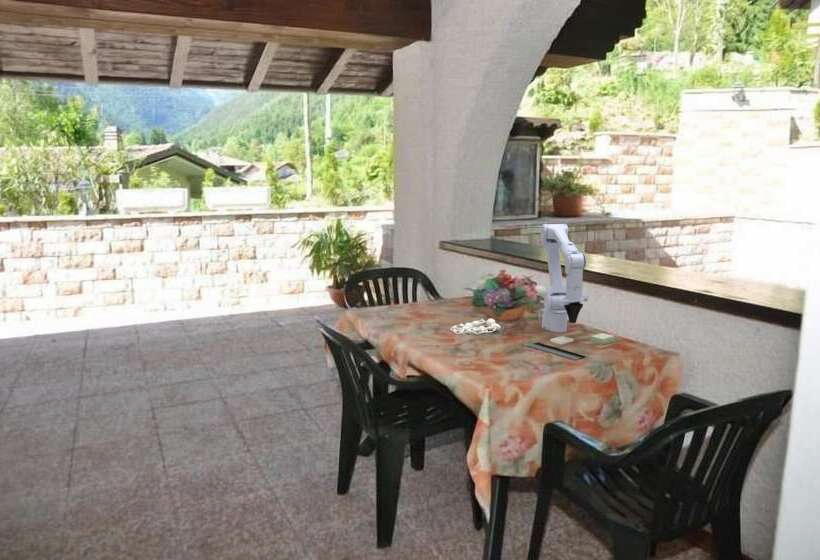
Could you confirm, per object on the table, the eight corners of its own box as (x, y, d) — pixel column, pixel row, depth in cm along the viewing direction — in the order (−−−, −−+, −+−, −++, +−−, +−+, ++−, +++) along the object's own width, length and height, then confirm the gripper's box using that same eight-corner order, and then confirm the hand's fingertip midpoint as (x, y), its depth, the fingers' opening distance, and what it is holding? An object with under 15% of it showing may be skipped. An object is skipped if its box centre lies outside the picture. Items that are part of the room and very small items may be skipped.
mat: (526, 346, 218) (526, 345, 218) (552, 339, 226) (552, 338, 226) (575, 360, 201) (575, 359, 200) (600, 353, 209) (600, 352, 209)
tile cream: (550, 344, 219) (550, 339, 218) (562, 341, 223) (562, 336, 222) (560, 347, 215) (561, 342, 214) (573, 344, 219) (573, 338, 218)
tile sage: (590, 341, 218) (591, 336, 218) (602, 338, 223) (602, 333, 222) (602, 344, 214) (602, 339, 214) (613, 341, 219) (614, 335, 218)
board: (555, 340, 226) (556, 336, 226) (579, 334, 234) (579, 330, 234) (600, 352, 210) (600, 348, 210) (623, 345, 218) (623, 341, 218)
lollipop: (535, 321, 255) (536, 287, 252) (529, 318, 260) (530, 285, 258) (548, 320, 256) (550, 286, 254) (542, 317, 262) (543, 284, 259)
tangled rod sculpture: (455, 340, 231) (455, 330, 230) (447, 328, 245) (447, 319, 244) (503, 337, 234) (503, 327, 233) (493, 325, 248) (493, 315, 247)
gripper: (569, 290, 209) (568, 327, 211) (595, 285, 217) (593, 321, 219) (554, 287, 215) (552, 323, 217) (580, 283, 223) (578, 318, 225)
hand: (572, 322), depth 219 cm, fingers closed
